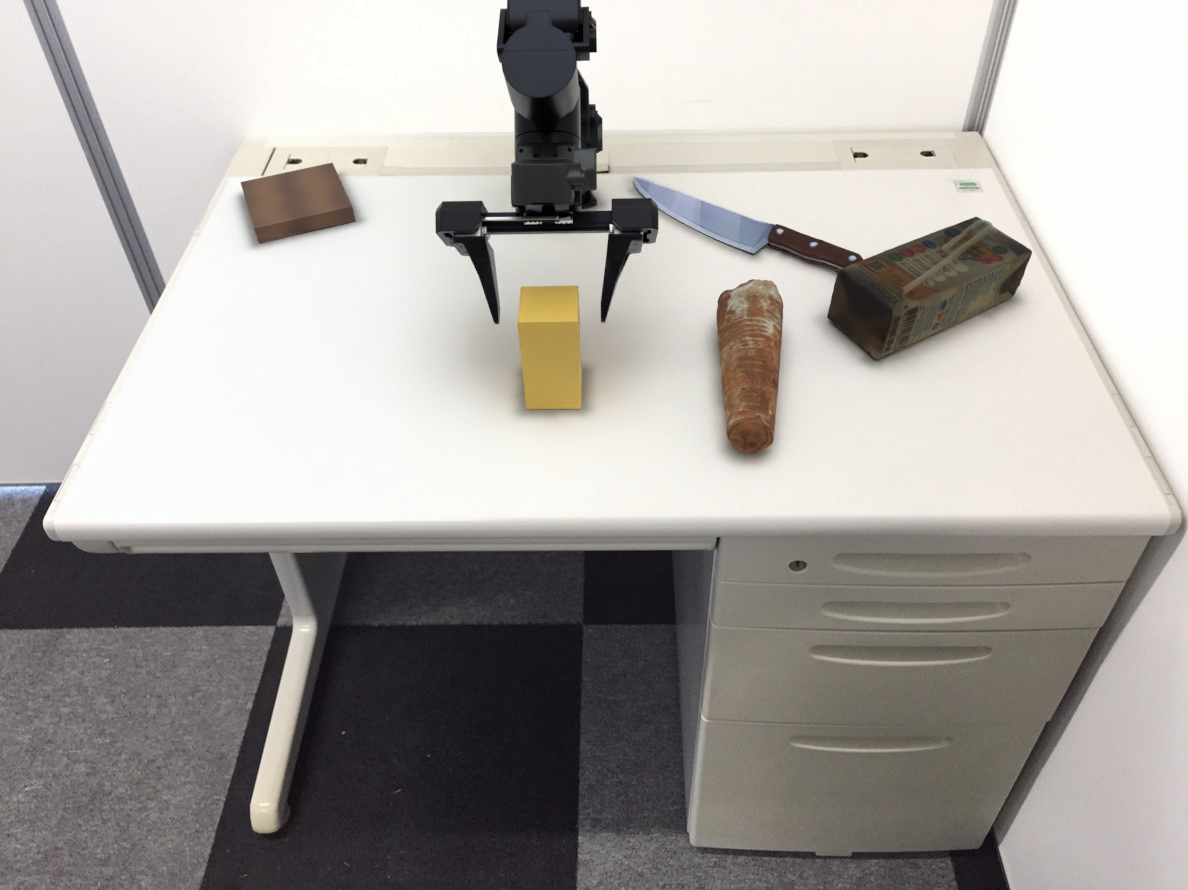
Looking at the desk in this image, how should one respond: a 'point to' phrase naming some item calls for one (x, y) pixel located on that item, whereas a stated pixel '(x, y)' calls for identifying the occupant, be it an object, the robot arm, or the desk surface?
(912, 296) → the beverage carton
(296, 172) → the cutting board
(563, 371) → the butter
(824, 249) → the kitchen knife
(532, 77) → the robot arm
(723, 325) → the orange-brown tapered rod
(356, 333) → the desk surface
